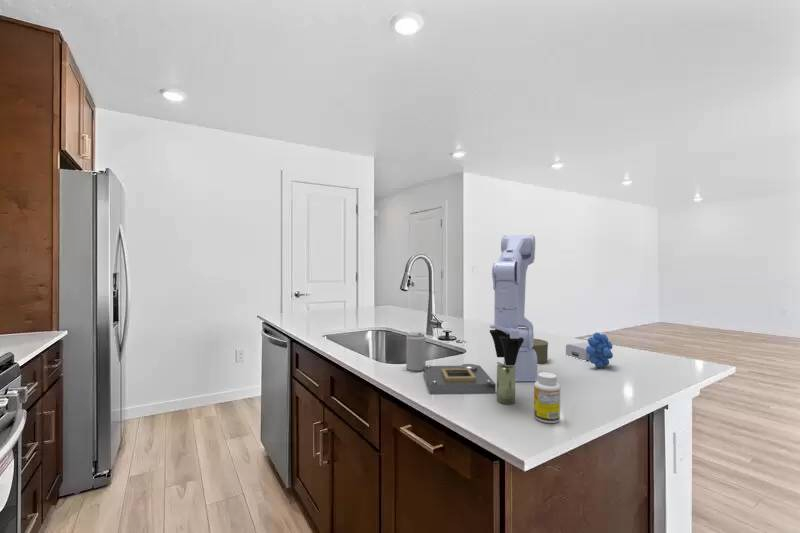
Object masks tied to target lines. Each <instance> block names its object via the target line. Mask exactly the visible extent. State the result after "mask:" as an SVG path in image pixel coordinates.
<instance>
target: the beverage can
mask: <svg viewBox="0 0 800 533" xmlns="http://www.w3.org/2000/svg"><path fill="white" fill-rule="evenodd" d="M405 339H406V340H405V341H406V342H405V344H406V345H405V348H406V352H405V355H406V358H405V360H406V362H405V363H406V364H405V365H406V366H405V367H406V369H407V370H409V372H423V366H427V364H426V363H427V362H426V360H427V359H426V358H427V357H426V356H427V355H426V354H427V352H426V347H427V345H426V344H427V343H426V342H427V340H426V339H427V337H426V335H425V333H424V332H420V331H411V332H408V333H407V335H406V338H405Z"/></svg>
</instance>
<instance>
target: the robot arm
mask: <svg viewBox="0 0 800 533" xmlns="http://www.w3.org/2000/svg"><path fill="white" fill-rule="evenodd" d="M500 251H501V254H500V257H499V259H498V260H497V261H496V262H495V263H492V267H491V277H492V284H493V285H492V289H493V290H494V319H493V320H494V323H493V324H489V328H490V329H489V333H490V335H491V337H492V340H493V344H494V348H495V353H496V357H497V358H503V363H504V362H505V363H506V365H513V366H515V367H516V380H515V382H536V381H538V365H537V354H536V352H535V350H534V349H531V348H532V347H533V341H534V339H535V338H534V337H535V336H534V325H533V323H532V322H531V320H529V319H528V318H527V317H525V310H526V309H525V307H526V306H525V305H526V282H527V272H528V271H527V270H528V267H529V266H530V265H532V264H534V262H535V261H534V260H535V256H536V236H535V235H534V234H526V235H524V234H521V235H505V234H504V235H502V236H501V240H500Z"/></svg>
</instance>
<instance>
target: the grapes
mask: <svg viewBox="0 0 800 533" xmlns="http://www.w3.org/2000/svg"><path fill="white" fill-rule="evenodd" d="M587 343H589V345H590V346H587V348H586V352H587V353H588V354H589V355H590V356H589V362H590V363H591V364H594V366H595V367H596V368H598V369H601V368H603V366H604V367H607V366H609V365H610V360H611V359H612V358H613V357H614V354H613V352H612V349H613V344H612V342H611V341H609V337H608V336H607V334H605V333H600V332H594V333H593V334H592V336H590V337H588V339H587Z"/></svg>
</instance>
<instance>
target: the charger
mask: <svg viewBox="0 0 800 533" xmlns="http://www.w3.org/2000/svg"><path fill="white" fill-rule="evenodd" d="M587 346H590V345H589V343H588V342H577V343H568V344H566V345H565V355H566V356H567V355H568V356H567V357H569V356H572V357H575V358H574V359H576V358H578V359H577V360H579V359H582V360H589V356H590V355H589V354H588V353H587V352H586V348H587ZM572 357H571V358H572ZM582 360H581V361H582Z"/></svg>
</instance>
